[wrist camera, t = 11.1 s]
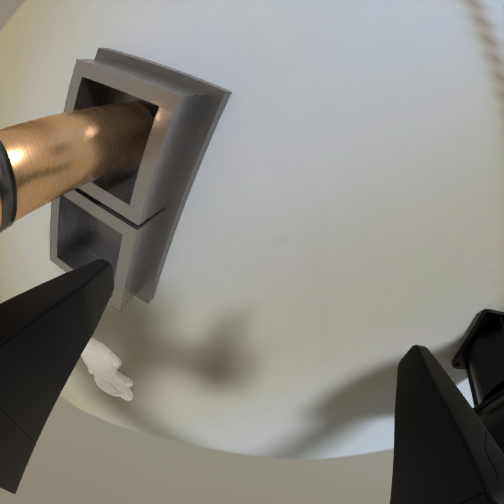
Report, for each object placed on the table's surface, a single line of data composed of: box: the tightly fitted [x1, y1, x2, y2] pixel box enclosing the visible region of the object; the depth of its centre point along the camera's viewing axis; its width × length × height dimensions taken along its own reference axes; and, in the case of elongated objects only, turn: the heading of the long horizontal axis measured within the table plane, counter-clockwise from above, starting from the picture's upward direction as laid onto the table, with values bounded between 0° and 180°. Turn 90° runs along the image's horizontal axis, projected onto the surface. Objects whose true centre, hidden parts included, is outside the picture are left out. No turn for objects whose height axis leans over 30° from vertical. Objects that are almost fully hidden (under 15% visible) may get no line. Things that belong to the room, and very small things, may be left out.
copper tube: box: [0, 102, 154, 232], centre depth 13 cm, size 5×5×13 cm
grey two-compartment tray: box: [50, 48, 231, 311], centre depth 20 cm, size 19×11×4 cm, turn 154°
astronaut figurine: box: [81, 337, 134, 401], centre depth 37 cm, size 9×12×3 cm
